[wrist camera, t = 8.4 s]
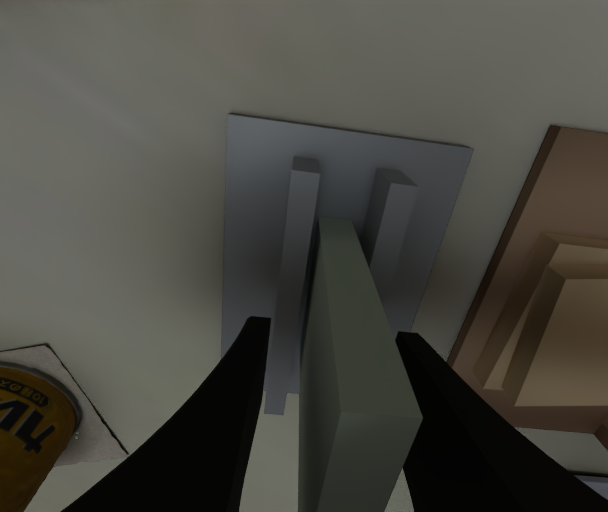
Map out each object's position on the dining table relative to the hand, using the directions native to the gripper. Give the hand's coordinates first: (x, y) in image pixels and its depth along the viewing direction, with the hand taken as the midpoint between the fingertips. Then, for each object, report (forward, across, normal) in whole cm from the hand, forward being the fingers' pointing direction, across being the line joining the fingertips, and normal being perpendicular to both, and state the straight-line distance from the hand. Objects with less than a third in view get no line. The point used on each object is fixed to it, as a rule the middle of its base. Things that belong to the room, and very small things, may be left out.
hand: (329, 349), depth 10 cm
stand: (+4, 0, 0) cm, 4 cm away
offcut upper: (+2, -10, 0) cm, 10 cm away
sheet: (+3, 0, 0) cm, 3 cm away
